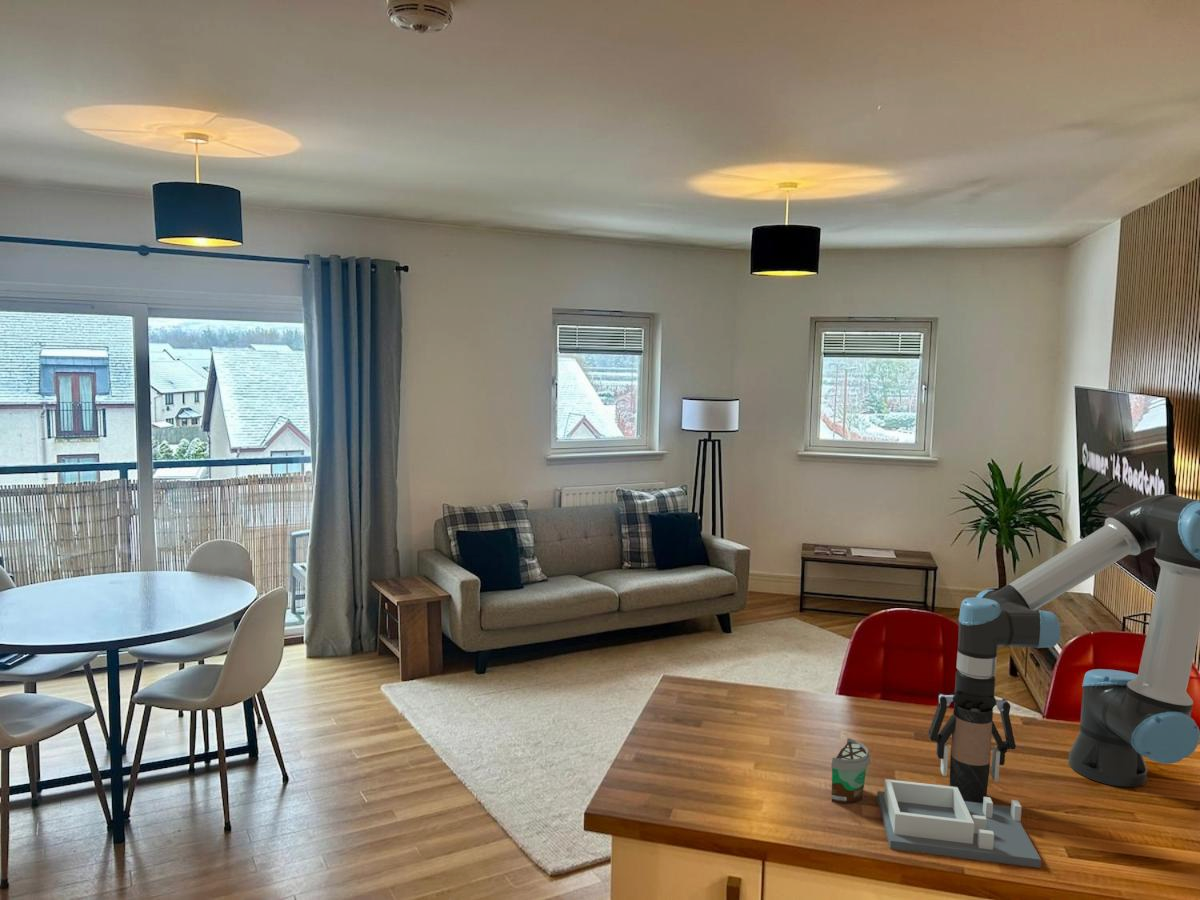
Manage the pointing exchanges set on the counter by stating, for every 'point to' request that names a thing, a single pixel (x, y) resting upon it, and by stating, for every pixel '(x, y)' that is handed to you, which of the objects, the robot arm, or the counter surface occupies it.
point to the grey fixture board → (1007, 835)
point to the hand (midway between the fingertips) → (968, 775)
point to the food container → (849, 773)
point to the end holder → (928, 824)
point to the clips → (980, 822)
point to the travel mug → (971, 753)
